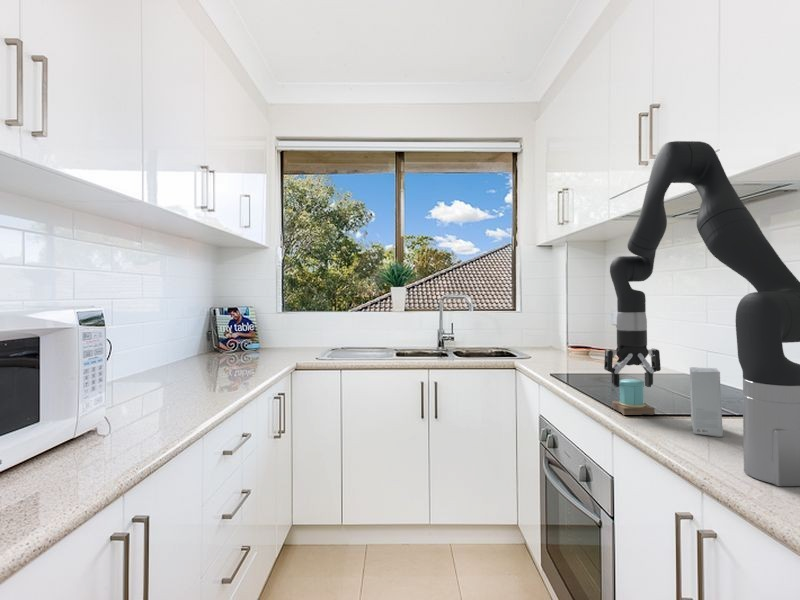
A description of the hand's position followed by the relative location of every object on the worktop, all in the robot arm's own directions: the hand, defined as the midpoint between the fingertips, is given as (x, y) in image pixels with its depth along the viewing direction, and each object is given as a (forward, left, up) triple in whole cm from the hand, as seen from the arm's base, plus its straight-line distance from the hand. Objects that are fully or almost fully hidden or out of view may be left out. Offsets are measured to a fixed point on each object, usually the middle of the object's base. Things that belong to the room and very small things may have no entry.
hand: (632, 386), depth 128 cm
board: (0, 0, -7) cm, 7 cm away
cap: (0, 0, -4) cm, 5 cm away
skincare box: (-18, -9, -7) cm, 21 cm away
